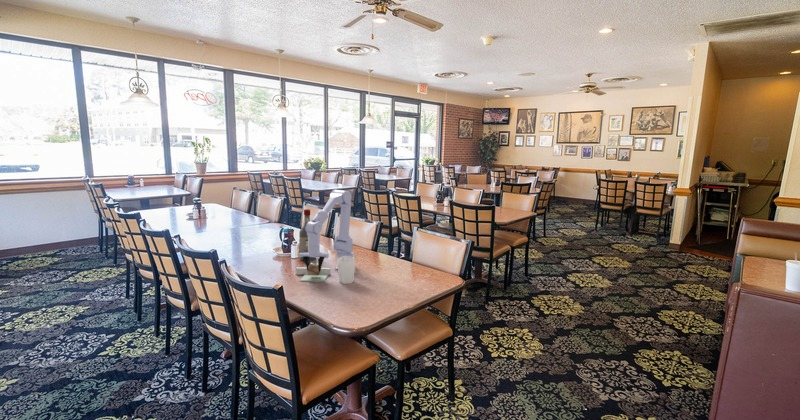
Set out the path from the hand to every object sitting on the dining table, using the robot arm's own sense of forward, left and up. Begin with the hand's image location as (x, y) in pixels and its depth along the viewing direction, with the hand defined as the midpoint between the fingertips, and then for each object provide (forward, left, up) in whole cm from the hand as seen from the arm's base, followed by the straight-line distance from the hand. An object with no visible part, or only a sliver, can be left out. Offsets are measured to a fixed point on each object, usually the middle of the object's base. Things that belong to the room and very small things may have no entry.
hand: (314, 270), depth 193 cm
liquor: (+12, -36, -4) cm, 38 cm away
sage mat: (0, 0, -4) cm, 4 cm away
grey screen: (+2, -7, -4) cm, 8 cm away
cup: (-17, +3, -4) cm, 18 cm away
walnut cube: (0, 0, -2) cm, 2 cm away
